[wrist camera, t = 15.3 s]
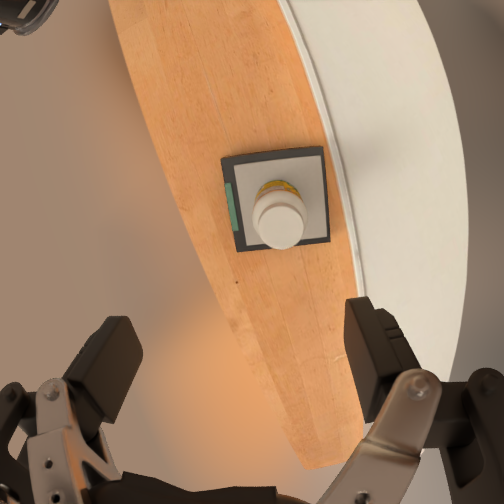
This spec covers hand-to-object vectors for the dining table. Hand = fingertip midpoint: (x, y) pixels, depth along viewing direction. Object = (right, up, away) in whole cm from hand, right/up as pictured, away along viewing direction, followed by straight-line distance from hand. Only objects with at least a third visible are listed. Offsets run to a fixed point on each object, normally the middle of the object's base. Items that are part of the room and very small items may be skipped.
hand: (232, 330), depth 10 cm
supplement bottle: (+4, +9, +24) cm, 26 cm away
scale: (+4, +10, +26) cm, 28 cm away
